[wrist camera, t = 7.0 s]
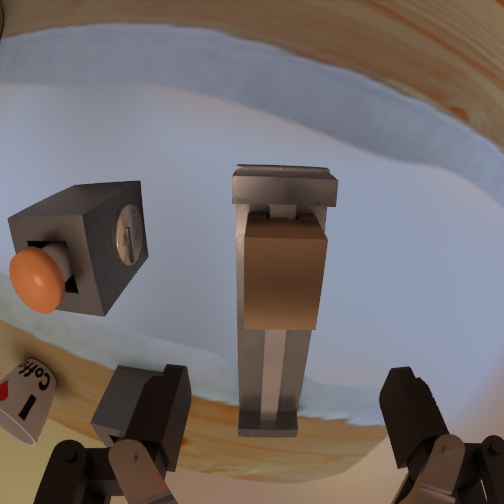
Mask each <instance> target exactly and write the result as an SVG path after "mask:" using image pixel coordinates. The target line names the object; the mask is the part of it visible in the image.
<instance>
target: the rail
mask: <svg viewBox="0 0 504 504" xmlns="http://www.w3.org/2000/svg"><path fill="white" fill-rule="evenodd" d="M232 180H233V181H232V189H233V190H232V196H233V198H232V200H233V203H235V204H236V249H237V250H236V254H237V255H236V257H237V325H238V326H237V328H238V374H239V423H238V436H242V437H296V435H297V431H298V424H297V407H298V402H299V397H300V392H301V387H302V382H303V377H304V371H305V366H306V360H307V355H308V349H309V343H310V336H311V331H312V330H266V329H244V234H245V228H246V222H247V216H248V213H267V219H293V220H297V214H311V215H315V216H316V218H317V219H318V221H319V223H320V225H321V227H322V229H323V231H325V222H326V211H327V207H336V199H337V188H338V180H337V179H336V178H334V176H332V175H331V174H330V170H329V169H327V168H322V167H304V166H283V165H282V166H280V165H244V164H238V165H237V166H236V171H235V173H234V174H233V176H232Z"/></svg>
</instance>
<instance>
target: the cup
mask: <svg viewBox="0 0 504 504" xmlns="http://www.w3.org/2000/svg"><path fill="white" fill-rule="evenodd" d="M55 386H56V379H55V377H54V375H53V374H52V372H51V371H50V370H49V369H48V368H47V367H46V366H45V365H43V364H42V363H41V362H39V361H37V360H35V359H29V360H27V361H25V362H24V363H22V364H20V365H19V366H17V367H16V368H15V369H13V370H12V371H11V372H10V373H9V374H8V375H7V376H6V377H5V378H3V379H2V380H1V381H0V426H1V427H2V428H3V429H5V430H6V431H7V432H8V433H9V434H11V435H12V436H13V437H15V438H17V439H18V440H20V441H21V442H23V443H25V444H27V445H30V446H35V445H36V442H37V440H38V438H39V435H40V433H41V430H42V428H43V426H44V424H45V422H46V419H47V416H48V413H49V410H50V407H51V404H52V401H53V397H54V391H55Z"/></svg>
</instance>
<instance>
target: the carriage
mask: <svg viewBox="0 0 504 504" xmlns="http://www.w3.org/2000/svg"><path fill="white" fill-rule="evenodd" d="M327 242H328V239H327V237H326V235H325V233H324V231H323V229H322V227H321V225H320V223H319V221H318V219H317V218H316V216H315V215H311V214H297V220H293V219H267V213H248V216H247V222H246V228H245V234H244V329H266V330H315V328H316V321H317V316H318V309H319V303H320V296H321V289H322V282H323V274H324V267H325V258H326V251H327Z"/></svg>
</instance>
